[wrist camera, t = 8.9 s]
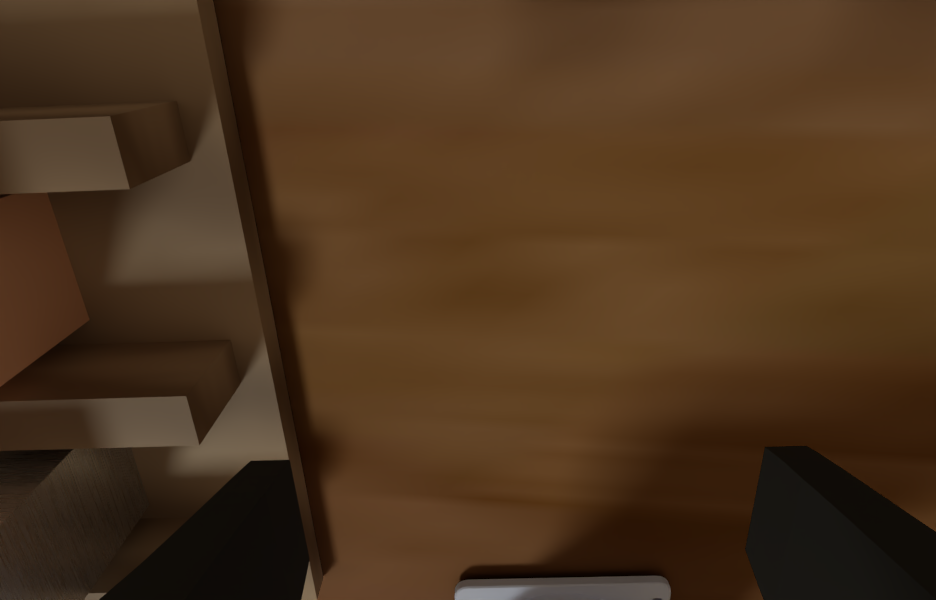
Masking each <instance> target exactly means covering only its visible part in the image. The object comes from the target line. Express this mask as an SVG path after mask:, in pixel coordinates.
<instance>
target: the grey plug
mask: <svg viewBox="0 0 936 600" xmlns="http://www.w3.org/2000/svg"><path fill="white" fill-rule="evenodd" d="M149 505H150V504H149V501H148V498H147V495H146V492H145V489H144V486H143V483H142V480H141V477H140V474H139V471H138V468H137V464H136V461H135V458H134V455H133V452H132V449H131V447H125V448H89V449H53V450H16V451H0V600H84V599H85V598H86V596H87V595H88V593H89V592H90V590H91V589H92V587H93V586H94V585H95V583H96V582H97V580H98V579H99V577H100V576H101V574H102V573H103V571H104V570H105V569H106V567H107V566H108V564H109V563H110V561H111V560H112V558H113V557H114V555H115V554H116V553H117V551H118V550H119V548H120V547H121V545H122V544H123V542H124V541H125V539H126V538H127V537H128V535H129V534H130V532H131V531H132V529H133V528H134V526H135V525H136V524H137V522H138V521H139V519H140V518H141V516H142V515H143V513H144V512H145V510H146V509H147V508H148V506H149Z"/></svg>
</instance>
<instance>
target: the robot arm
mask: <svg viewBox="0 0 936 600" xmlns="http://www.w3.org/2000/svg"><path fill="white" fill-rule="evenodd" d="M745 550H746V553H747V555H748V558H749V561H750V564H751V566H752V569H753V572H754V575H755V578H756V580H757V583H758V586H759V589H760V591H761V594H762V596H763V599H764V600H936V532H935V531H934V530H932V529H931V528H929V527H928V526H926V525H925V524H923V523H922V522H920V521H919V520H917V519H916V518H914V517H913V516H911V515H910V514H908V513H907V512H905V511H904V510H902V509H901V508H899V507H898V506H896V505H895V504H894V503H892V502H891V501H889V500H888V499H886V498H885V497H883V496H882V495H880V494H879V493H877V492H876V491H874V490H873V489H872V488H870V487H869V486H867V485H866V484H864V483H863V482H861V481H860V480H858V479H857V478H855V477H854V476H852V475H851V474H849V473H848V472H846V471H845V470H843V469H842V468H840V467H839V466H837V465H836V464H834V463H833V462H831V461H830V460H828V459H827V458H825V457H824V456H822V455H820V454H819V453H817V452H816V451H814V450H812V449H811V448H809V447H807V446H785V447H765V450H764V455H763V460H762V465H761V471H760V476H759V481H758V486H757V491H756V497H755V502H754V507H753V512H752V517H751V522H750V528H749V533H748V538H747V543H746V548H745ZM309 560H310V558H309V553H308V548H307V543H306V538H305V533H304V528H303V523H302V518H301V513H300V508H299V503H298V498H297V493H296V488H295V483H294V478H293V473H292V468H291V463H290V460H261V461H250V462H249V463H248V464H247V465H245V466H244V467H243V468H242V469H241V470H240V471H239V472H238V473H237V474H236V475H235V476H233V477H232V478H231V479H230V480H229V481H228V482H227V483H226V484H225V485H224V486H223V487H222V488H221V489H220V490H219V491H218V492H217V493H216V494H215V495H214V496H212V497H211V498H210V499H209V500H208V501H207V502H206V503H205V504H204V505H203V506H202V507H201V508H200V509H199V510H198V511H197V512H196V513H195V514H194V515H193V516H192V517H190V518H189V519H188V520H187V521H186V522H185V523H184V524H183V525H182V526H181V527H180V528H179V529H178V530H177V531H175V532H174V533H173V534H172V535H171V536H170V537H169V538H168V539H167V540H166V541H165V542H164V543H163V544H161V545H160V546H159V547H158V548H157V549H156V550H155V551H154V552H153V553H152V554H151V555H150V556H148V557H147V558H146V559H145V560H144V561H143V562H142V563H141V564H140V565H139V566H137V567H136V568H135V569H134V570H133V571H132V572H131V573H129V574H128V575H127V576H126V577H125V578H124V579H122V580H121V581H120V582H119V583H118V584H117V585H115V586H114V587H113V588H112V589H111V590H110V591H108V592H107V593H106V594H105V595H104V596H103V597H101V598H100V599H99V600H301V599H302V595H303V590H304V585H305V580H306V575H307V570H308V565H309ZM670 596H671V588H670V585H669V582H668V581H667V579H666V578H664V577H662V576H612V577H564V578H517V579H470V580H463V581H461V582H459V583H458V584H457V585H456V588H455V600H670ZM654 598H655V599H654Z"/></svg>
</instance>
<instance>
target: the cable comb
mask: <svg viewBox="0 0 936 600" xmlns="http://www.w3.org/2000/svg"><path fill="white" fill-rule="evenodd" d="M46 192H47V194H48V197H49V200H50V203H51V206H52V209H53V212H54V215H55V218H56V221H57V224H58V227H59V230H60V233H61V236H62V239H63V242H64V245H65V248H66V251H67V254H68V257H69V260H70V263H71V266H72V269H73V272H74V275H75V278H76V281H77V284H78V287H79V290H80V293H81V296H82V299H83V302H84V304H85V307H86V310H87V313H88V316H89V319H90V320H89V321H87V322H86V323H85V324H83V325H82V326H81V327H79V328H78V329H77V330H75V331H74V332H73V333H71V334H70V335H69V336H67V337H66V338H65V339H63V340H62V341H61V342H59V343H58V344H57V345H55V346H54V347H53V348H51V349H50V350H49V351H47V352H46V353H45V354H43V355H42V356H41V357H39V358H38V359H37V360H35V361H34V362H33V363H31V364H30V365H29V366H27V367H26V368H25V369H23V370H22V371H21V372H19V373H18V374H17V375H15V376H14V377H13V378H11V379H10V380H9V381H7V382H6V383H5V384H3V385H2V386H1V387H0V451H16V450H53V449H89V448H125V447H131V449H132V452H133V455H134V458H135V461H136V464H137V468H138V471H139V474H140V477H141V480H142V483H143V486H144V489H145V492H146V495H147V498H148V501H149V504H150V505H149V506H148V508H147V509H146V510H145V512H144V513H143V515H142V516H141V518H140V519H139V521H138V522H137V524H136V525H135V526H134V528H133V529H132V531H131V532H130V534H129V535H128V537H127V538H126V539H125V541H124V542H123V544H122V545H121V547H120V548H119V550H118V551H117V553H116V554H115V555H114V557H113V558H112V560H111V561H110V563H109V564H108V566H107V567H106V569H105V570H104V571H103V573H102V574H101V576H100V577H99V579H98V580H97V582H96V583H95V585H94V586H93V587H92V589H91V590H90V592H89V593H88V595H87V596H86V598H85V599H84V600H99V599H100V598H101V597H103V596H104V595H105V594H106V593H107V592H108V591H110V590H111V589H112V588H113V587H114V586H115V585H117V584H118V583H119V582H120V581H121V580H122V579H124V578H125V577H126V576H127V575H128V574H129V573H131V572H132V571H133V570H134V569H135V568H136V567H137V566H139V565H140V564H141V563H142V562H143V561H144V560H145V559H146V558H147V557H148V556H150V555H151V554H152V553H153V552H154V551H155V550H156V549H157V548H158V547H159V546H160V545H161V544H163V543H164V542H165V541H166V540H167V539H168V538H169V537H170V536H171V535H172V534H173V533H174V532H175V531H177V530H178V529H179V528H180V527H181V526H182V525H183V524H184V523H185V522H186V521H187V520H188V519H189V518H190V517H192V516H193V515H194V514H195V513H196V512H197V511H198V510H199V509H200V508H201V507H202V506H203V505H204V504H205V503H206V502H207V501H208V500H209V499H210V498H211V497H212V496H214V495H215V494H216V493H217V492H218V491H219V490H220V489H221V488H222V487H223V486H224V485H225V484H226V483H227V482H228V481H229V480H230V479H231V478H232V477H233V476H235V475H236V474H237V473H238V472H239V471H240V470H241V469H242V468H243V467H244V466H245V465H247V464H248V463H249V462H250V461H261V460H290V463H291V468H292V473H293V478H294V483H295V488H296V493H297V498H298V503H299V508H300V513H301V518H302V523H303V528H304V533H305V538H306V543H307V548H308V553H309V558H310V560H309V565H308V570H307V575H306V580H305V585H304V590H303V595H302V599H301V600H317V598H318V595H319V591H320V587H321V584H322V580H323V573H322V568H321V563H320V557H319V552H318V547H317V542H316V536H315V531H314V526H313V521H312V515H311V510H310V505H309V500H308V494H307V489H306V484H305V479H304V473H303V468H302V463H301V458H300V453H299V447H298V442H297V437H296V432H295V426H294V421H293V416H292V411H291V405H290V400H289V395H288V390H287V384H286V379H285V374H284V369H283V363H282V358H281V353H280V348H279V343H278V337H277V332H276V327H275V322H274V316H273V311H272V306H271V301H270V295H269V290H268V285H267V280H266V274H265V269H264V264H263V259H262V254H261V248H260V243H259V238H258V233H257V227H256V222H255V217H254V212H253V206H252V201H251V196H250V191H249V185H248V180H247V175H246V170H245V164H244V159H243V154H242V149H241V144H240V138H239V133H238V128H237V123H236V117H235V112H234V107H233V102H232V96H231V91H230V86H229V81H228V75H227V70H226V65H225V60H224V54H223V49H222V44H221V39H220V34H219V28H218V23H217V18H216V13H215V7H214V2H213V0H0V194H20V193H46Z"/></svg>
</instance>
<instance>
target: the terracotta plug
mask: <svg viewBox="0 0 936 600" xmlns="http://www.w3.org/2000/svg"><path fill="white" fill-rule="evenodd" d="M89 320H90V319H89V316H88V313H87V310H86V307H85V304H84V302H83V299H82V296H81V293H80V290H79V287H78V284H77V281H76V278H75V275H74V272H73V269H72V266H71V263H70V260H69V257H68V254H67V251H66V248H65V245H64V242H63V239H62V236H61V233H60V230H59V227H58V224H57V221H56V218H55V215H54V212H53V209H52V206H51V203H50V200H49V197H48V194H47V192H46V193H20V194H0V387H1V386H2V385H3V384H5V383H6V382H7V381H9V380H10V379H11V378H13V377H14V376H15V375H17V374H18V373H19V372H21V371H22V370H23V369H25V368H26V367H27V366H29V365H30V364H31V363H33V362H34V361H35V360H37V359H38V358H39V357H41V356H42V355H43V354H45V353H46V352H47V351H49V350H50V349H51V348H53V347H54V346H55V345H57V344H58V343H59V342H61V341H62V340H63V339H65V338H66V337H67V336H69V335H70V334H71V333H73V332H74V331H75V330H77V329H78V328H79V327H81V326H82V325H83V324H85V323H86V322H87V321H89Z"/></svg>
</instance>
